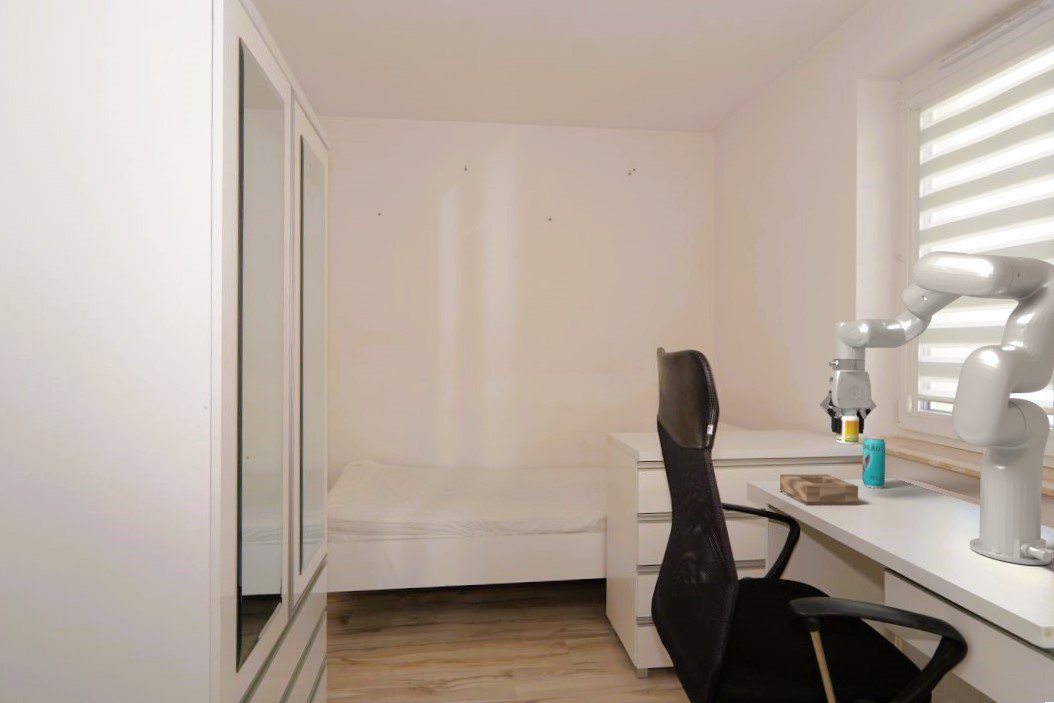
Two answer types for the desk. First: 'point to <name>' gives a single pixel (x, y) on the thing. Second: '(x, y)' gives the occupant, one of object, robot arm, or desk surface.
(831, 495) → the socket block
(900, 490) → the desk surface
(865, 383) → the robot arm
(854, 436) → the supplement bottle
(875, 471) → the beverage can
